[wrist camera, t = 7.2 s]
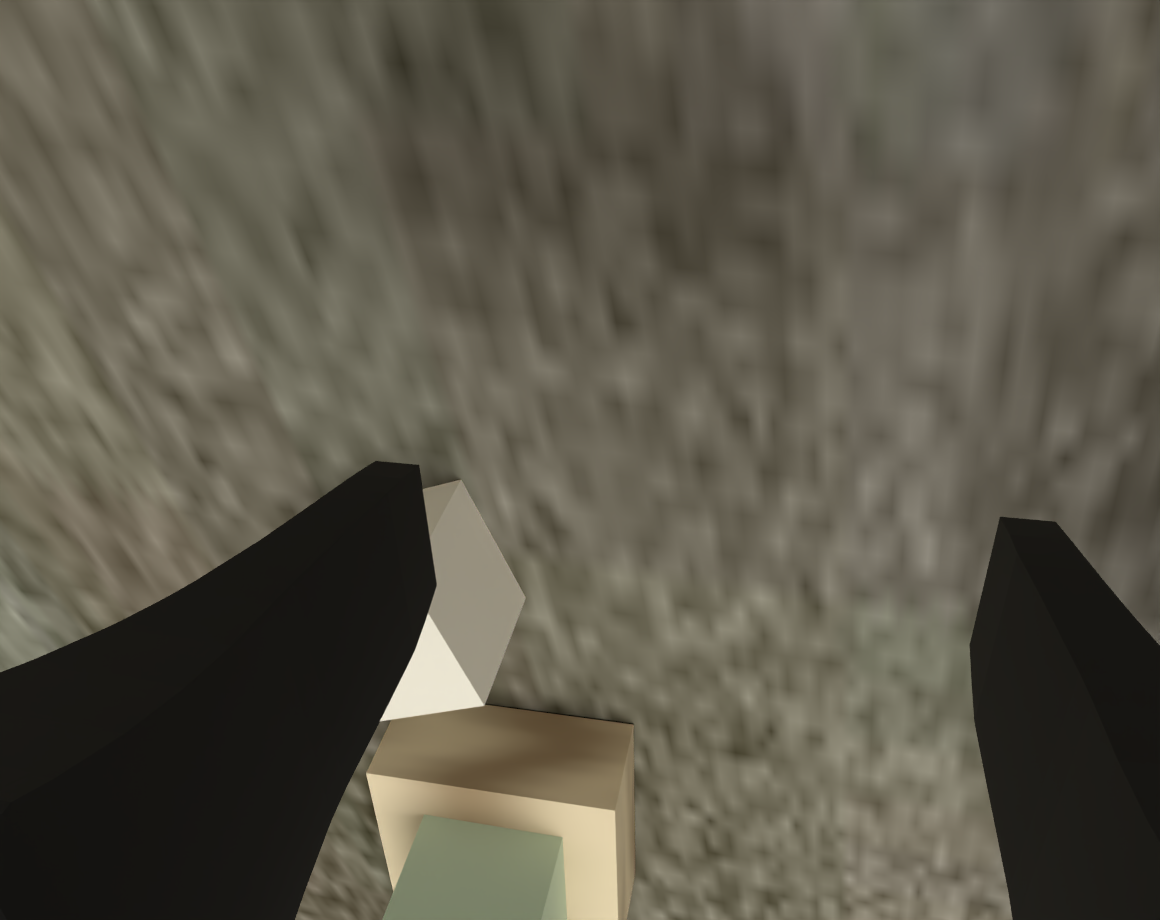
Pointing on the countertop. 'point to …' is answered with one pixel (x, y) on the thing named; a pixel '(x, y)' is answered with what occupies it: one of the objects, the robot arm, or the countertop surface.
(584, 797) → the maple block
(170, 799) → the robot arm
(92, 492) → the countertop surface
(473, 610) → the ivory block
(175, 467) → the countertop surface
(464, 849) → the sage block
